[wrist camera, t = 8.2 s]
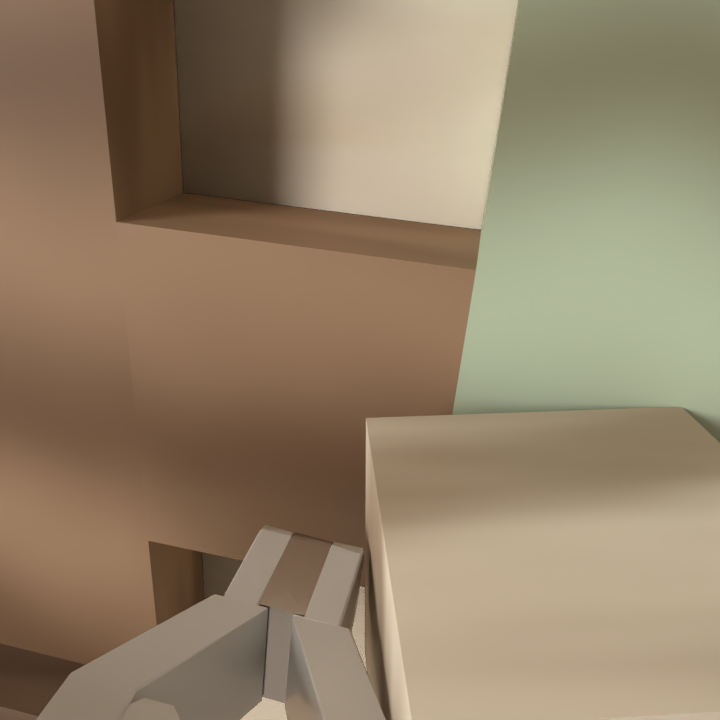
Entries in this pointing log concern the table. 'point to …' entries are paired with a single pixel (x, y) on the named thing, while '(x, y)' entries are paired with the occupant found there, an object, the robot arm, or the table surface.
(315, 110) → the table surface
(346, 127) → the table surface
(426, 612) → the maple block
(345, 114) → the table surface
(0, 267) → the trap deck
